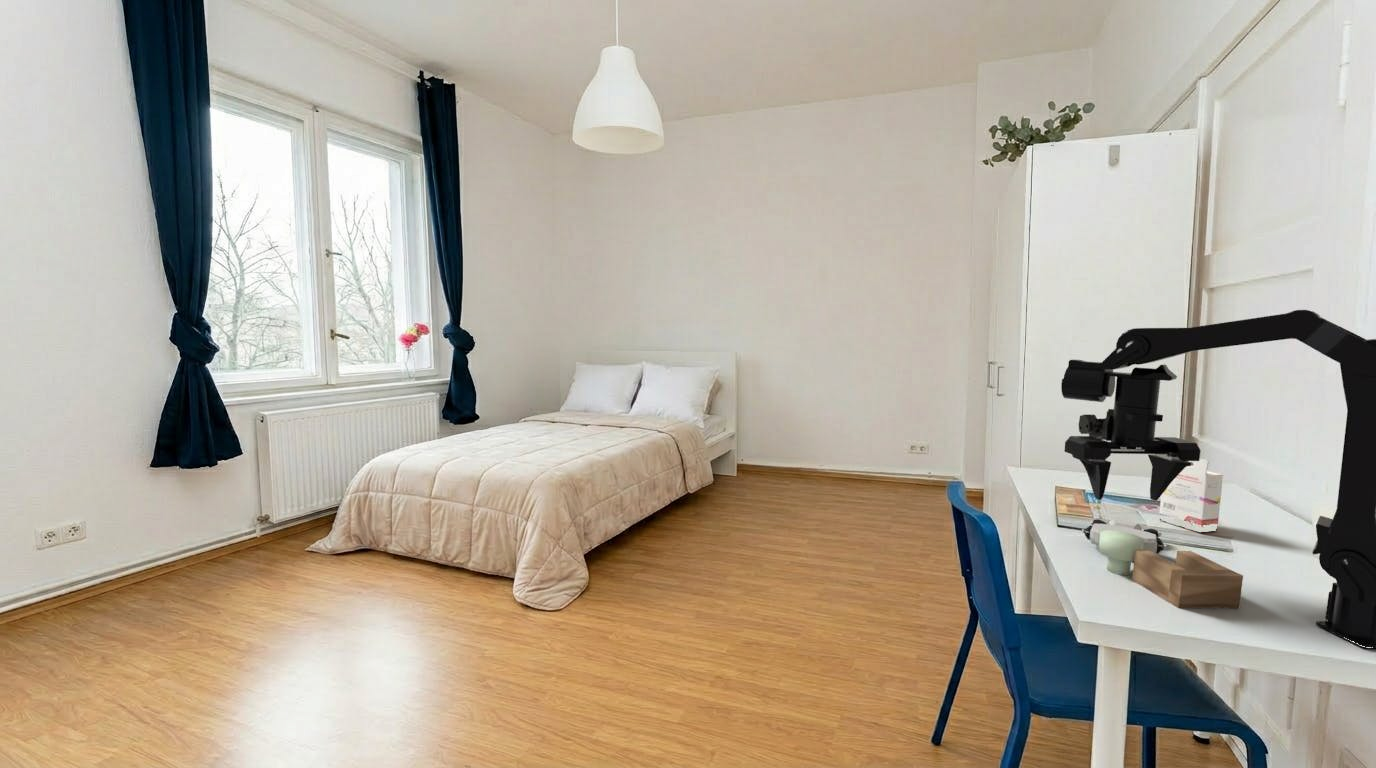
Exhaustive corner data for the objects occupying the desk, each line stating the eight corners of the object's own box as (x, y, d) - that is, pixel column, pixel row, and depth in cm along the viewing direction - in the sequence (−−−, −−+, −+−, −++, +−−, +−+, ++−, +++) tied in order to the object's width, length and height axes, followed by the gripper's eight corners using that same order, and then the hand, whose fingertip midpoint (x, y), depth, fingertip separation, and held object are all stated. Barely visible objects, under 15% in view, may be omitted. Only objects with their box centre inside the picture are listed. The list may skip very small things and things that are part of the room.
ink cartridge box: (1218, 532, 125) (1227, 459, 123) (1200, 534, 124) (1209, 461, 122) (1174, 518, 133) (1181, 449, 132) (1157, 520, 132) (1164, 451, 130)
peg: (1149, 579, 102) (1153, 543, 101) (1112, 578, 102) (1116, 543, 101) (1123, 564, 108) (1126, 530, 107) (1088, 563, 108) (1092, 530, 107)
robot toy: (1086, 534, 126) (1079, 551, 114) (1088, 511, 125) (1081, 526, 113) (1163, 548, 118) (1164, 568, 106) (1165, 525, 118) (1167, 542, 106)
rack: (1239, 608, 92) (1243, 575, 92) (1178, 607, 92) (1182, 575, 92) (1187, 580, 102) (1190, 550, 101) (1132, 580, 102) (1135, 550, 101)
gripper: (1155, 399, 110) (1146, 486, 112) (1049, 397, 110) (1041, 485, 112) (1208, 409, 99) (1197, 506, 101) (1090, 408, 99) (1081, 504, 101)
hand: (1125, 499), depth 104 cm, fingers open, 9 cm apart
